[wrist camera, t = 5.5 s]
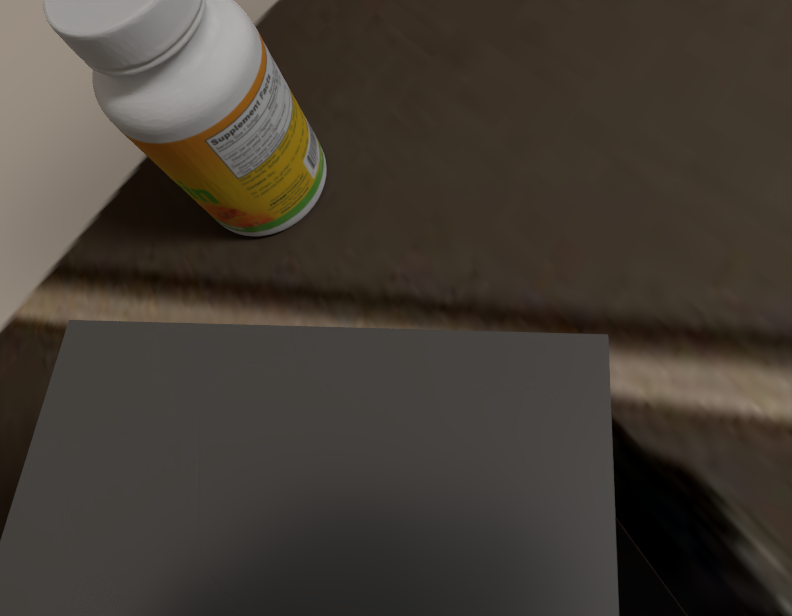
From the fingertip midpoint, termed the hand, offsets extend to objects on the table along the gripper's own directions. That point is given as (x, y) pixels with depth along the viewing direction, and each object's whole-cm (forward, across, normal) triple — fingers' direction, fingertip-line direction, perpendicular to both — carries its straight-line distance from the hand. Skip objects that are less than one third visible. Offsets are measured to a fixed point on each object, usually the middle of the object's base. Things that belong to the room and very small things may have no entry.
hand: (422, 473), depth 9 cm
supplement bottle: (+14, +9, -2) cm, 17 cm away
